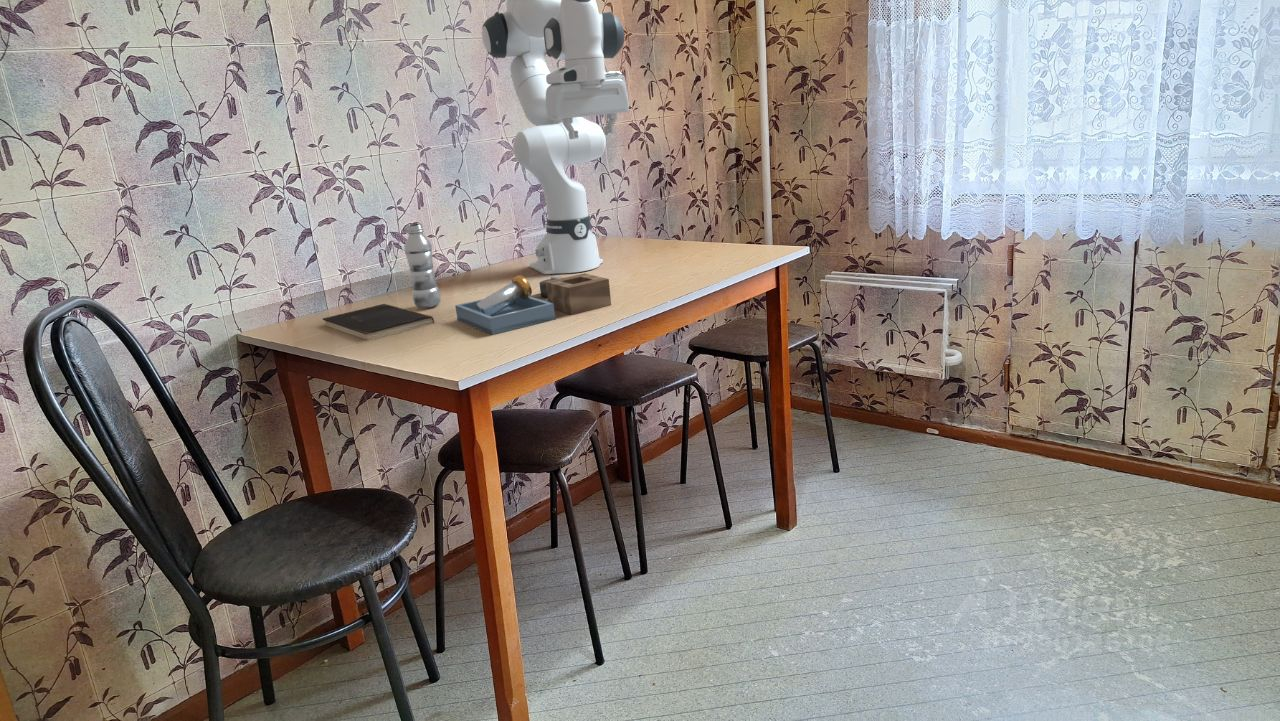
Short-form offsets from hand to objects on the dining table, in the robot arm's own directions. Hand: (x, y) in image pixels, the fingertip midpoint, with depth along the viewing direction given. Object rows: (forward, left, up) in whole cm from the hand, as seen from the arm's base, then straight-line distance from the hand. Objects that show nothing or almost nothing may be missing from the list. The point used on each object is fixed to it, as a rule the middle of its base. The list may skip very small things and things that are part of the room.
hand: (591, 136), depth 190 cm
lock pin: (+3, -34, -33) cm, 48 cm away
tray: (+4, -29, -36) cm, 47 cm away
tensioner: (+3, -12, -36) cm, 38 cm away
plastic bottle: (-24, -36, -37) cm, 57 cm away
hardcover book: (-18, -51, -37) cm, 65 cm away
